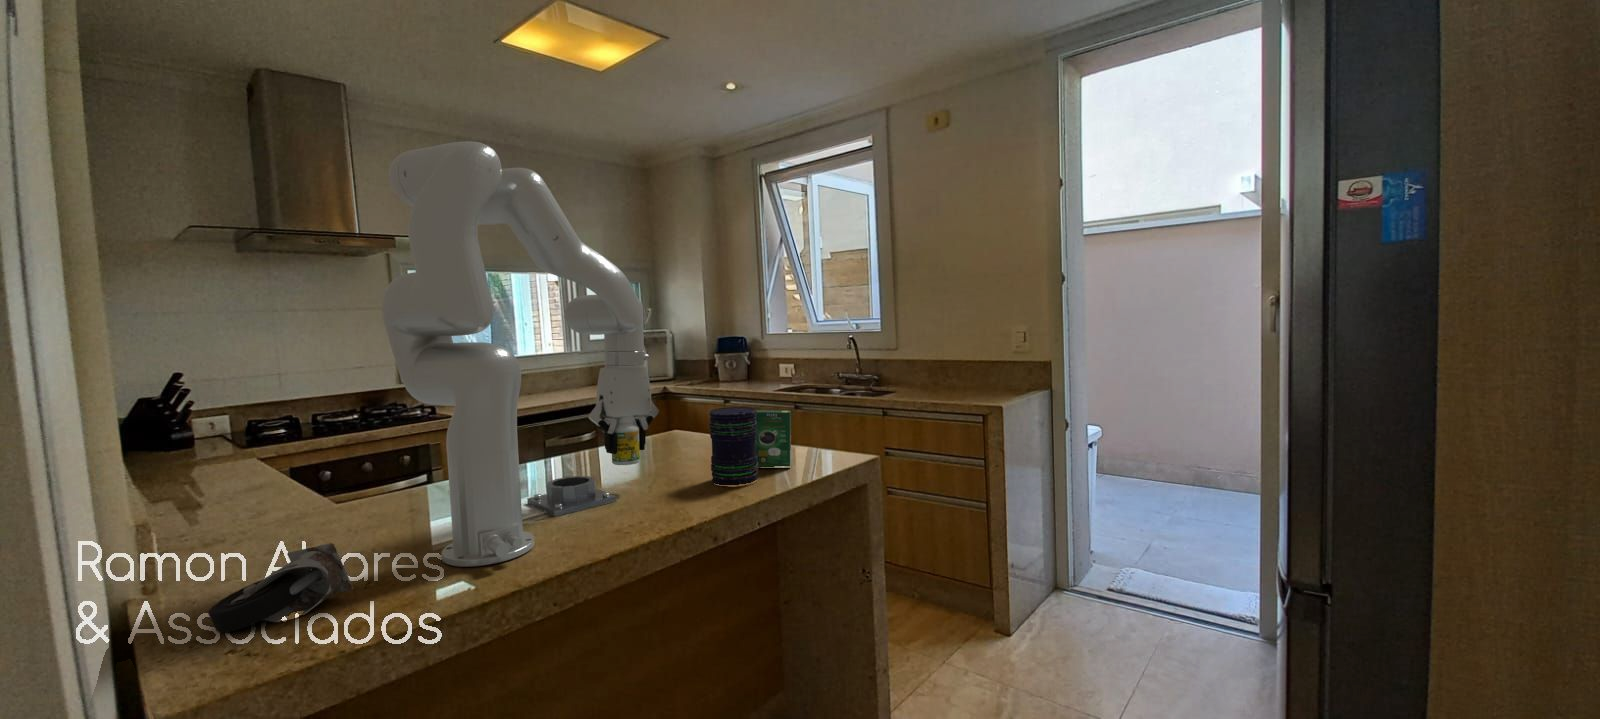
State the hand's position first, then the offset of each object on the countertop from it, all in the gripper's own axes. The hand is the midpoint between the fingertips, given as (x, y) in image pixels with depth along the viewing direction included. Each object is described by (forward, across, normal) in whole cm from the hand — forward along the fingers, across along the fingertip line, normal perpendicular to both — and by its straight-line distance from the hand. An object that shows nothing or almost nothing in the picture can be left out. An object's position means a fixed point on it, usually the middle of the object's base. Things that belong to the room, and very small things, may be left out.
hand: (625, 450), depth 127 cm
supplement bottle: (+3, 0, 0) cm, 3 cm away
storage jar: (+8, -20, +10) cm, 23 cm away
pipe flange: (+9, +10, -2) cm, 14 cm away
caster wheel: (+12, +56, +16) cm, 59 cm away
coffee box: (+7, -32, +8) cm, 34 cm away
